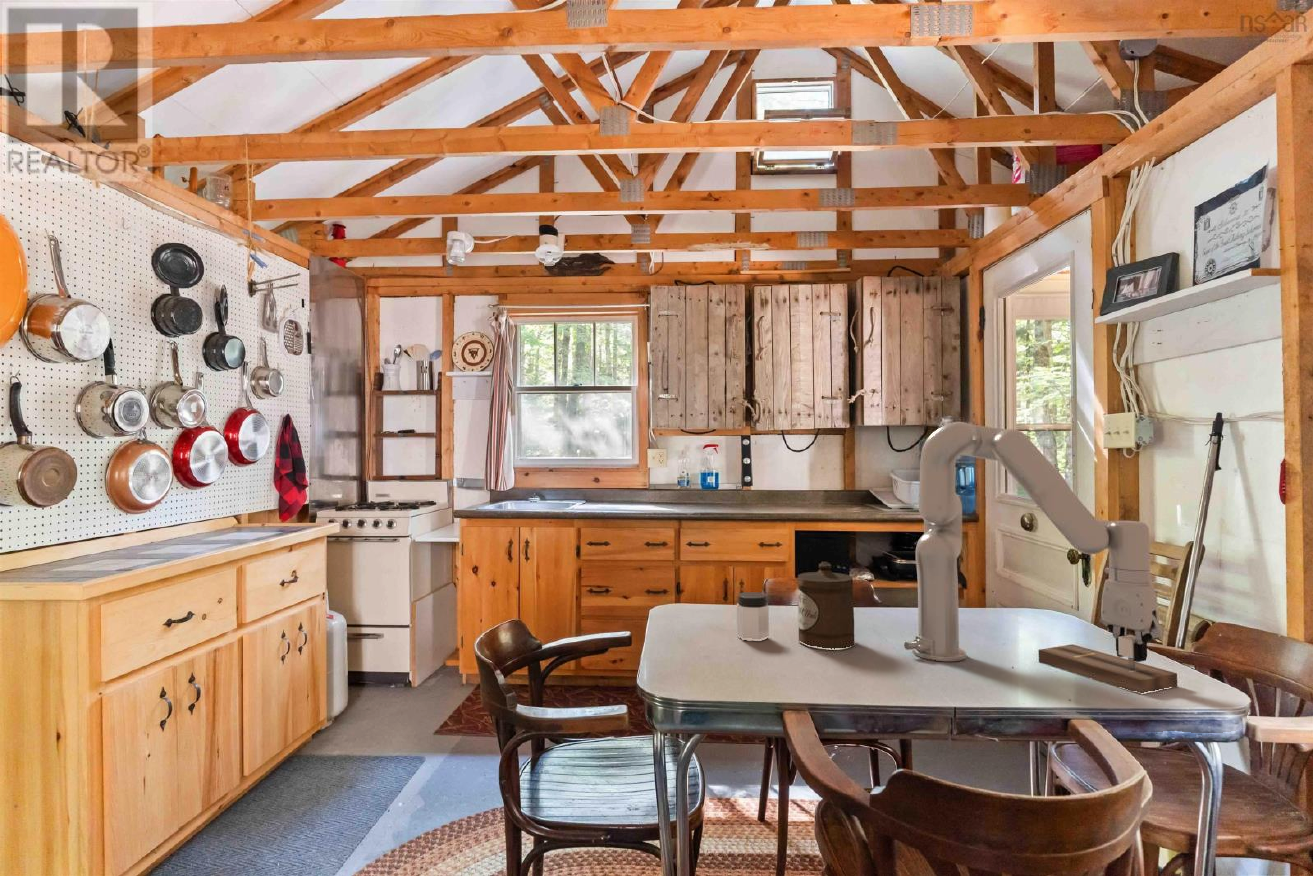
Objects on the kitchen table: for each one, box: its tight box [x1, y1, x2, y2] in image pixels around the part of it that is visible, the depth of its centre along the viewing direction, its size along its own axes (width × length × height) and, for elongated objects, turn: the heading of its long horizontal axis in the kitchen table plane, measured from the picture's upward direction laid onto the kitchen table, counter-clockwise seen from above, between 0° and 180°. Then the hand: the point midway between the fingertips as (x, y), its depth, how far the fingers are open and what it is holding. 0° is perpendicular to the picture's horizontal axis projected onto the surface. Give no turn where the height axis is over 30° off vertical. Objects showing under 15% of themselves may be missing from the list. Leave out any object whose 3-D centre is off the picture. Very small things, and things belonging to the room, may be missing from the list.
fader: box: [1118, 634, 1136, 668], centre depth 147 cm, size 4×3×7 cm
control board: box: [1038, 644, 1178, 693], centre depth 153 cm, size 12×24×3 cm, turn 22°
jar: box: [736, 591, 770, 639], centre depth 185 cm, size 9×8×12 cm
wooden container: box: [797, 561, 855, 649], centre depth 179 cm, size 15×15×22 cm
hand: (1131, 657), depth 147 cm, fingers closed on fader, 3 cm apart
